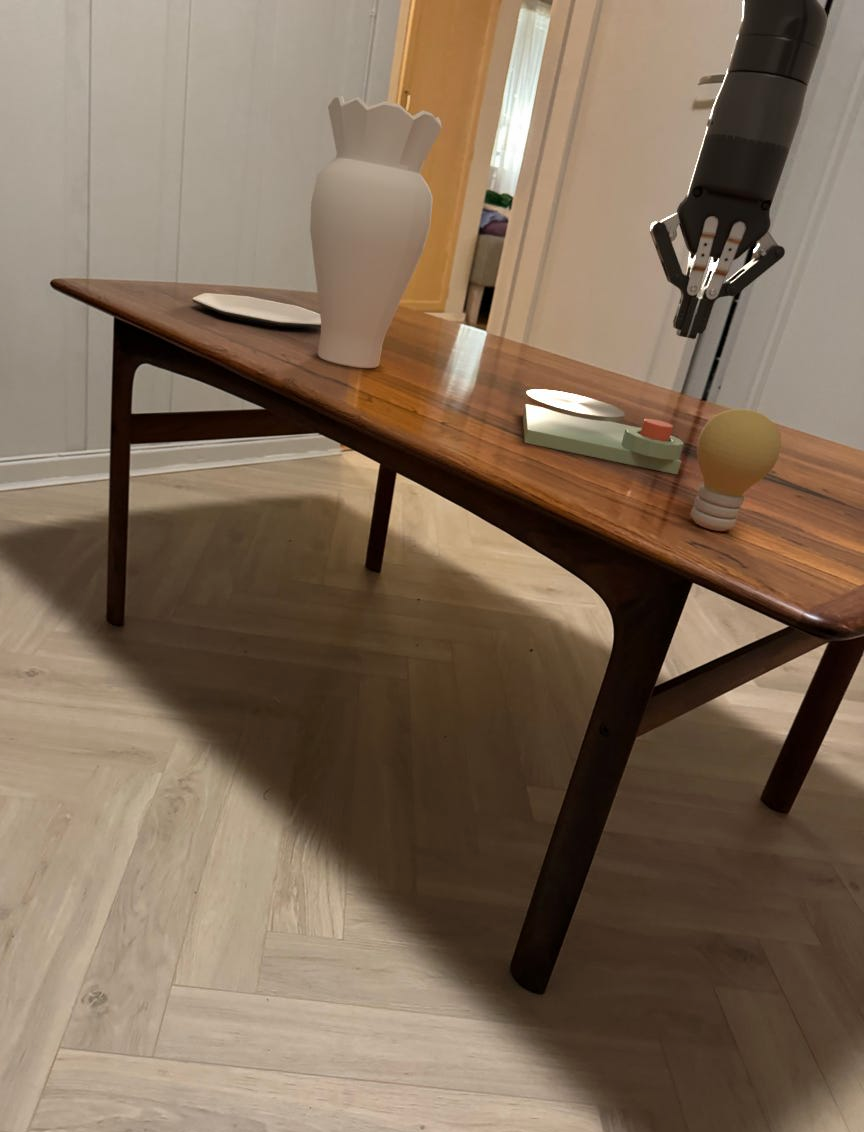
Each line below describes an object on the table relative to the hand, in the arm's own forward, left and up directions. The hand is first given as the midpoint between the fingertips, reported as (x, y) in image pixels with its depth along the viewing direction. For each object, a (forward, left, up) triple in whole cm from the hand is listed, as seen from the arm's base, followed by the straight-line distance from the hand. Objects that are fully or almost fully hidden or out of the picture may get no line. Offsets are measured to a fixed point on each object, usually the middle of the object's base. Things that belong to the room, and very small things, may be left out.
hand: (685, 336), depth 89 cm
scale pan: (+8, -7, -10) cm, 15 cm away
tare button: (0, 0, -10) cm, 10 cm away
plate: (+53, -45, -13) cm, 71 cm away
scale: (+5, -5, -13) cm, 15 cm away
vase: (+36, -24, -13) cm, 45 cm away
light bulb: (-3, +19, -13) cm, 23 cm away
